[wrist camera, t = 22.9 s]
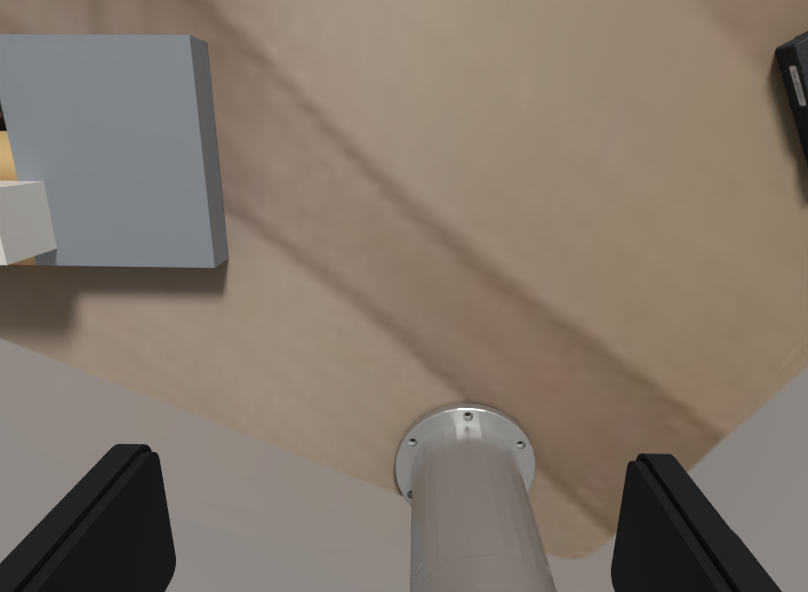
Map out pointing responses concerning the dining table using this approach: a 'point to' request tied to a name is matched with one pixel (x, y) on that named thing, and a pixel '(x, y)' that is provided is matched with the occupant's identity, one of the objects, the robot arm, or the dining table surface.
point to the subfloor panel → (116, 146)
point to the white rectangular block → (24, 221)
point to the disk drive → (796, 82)
